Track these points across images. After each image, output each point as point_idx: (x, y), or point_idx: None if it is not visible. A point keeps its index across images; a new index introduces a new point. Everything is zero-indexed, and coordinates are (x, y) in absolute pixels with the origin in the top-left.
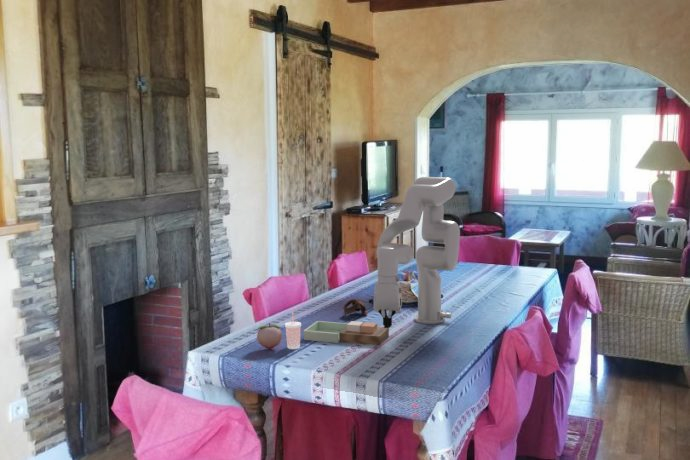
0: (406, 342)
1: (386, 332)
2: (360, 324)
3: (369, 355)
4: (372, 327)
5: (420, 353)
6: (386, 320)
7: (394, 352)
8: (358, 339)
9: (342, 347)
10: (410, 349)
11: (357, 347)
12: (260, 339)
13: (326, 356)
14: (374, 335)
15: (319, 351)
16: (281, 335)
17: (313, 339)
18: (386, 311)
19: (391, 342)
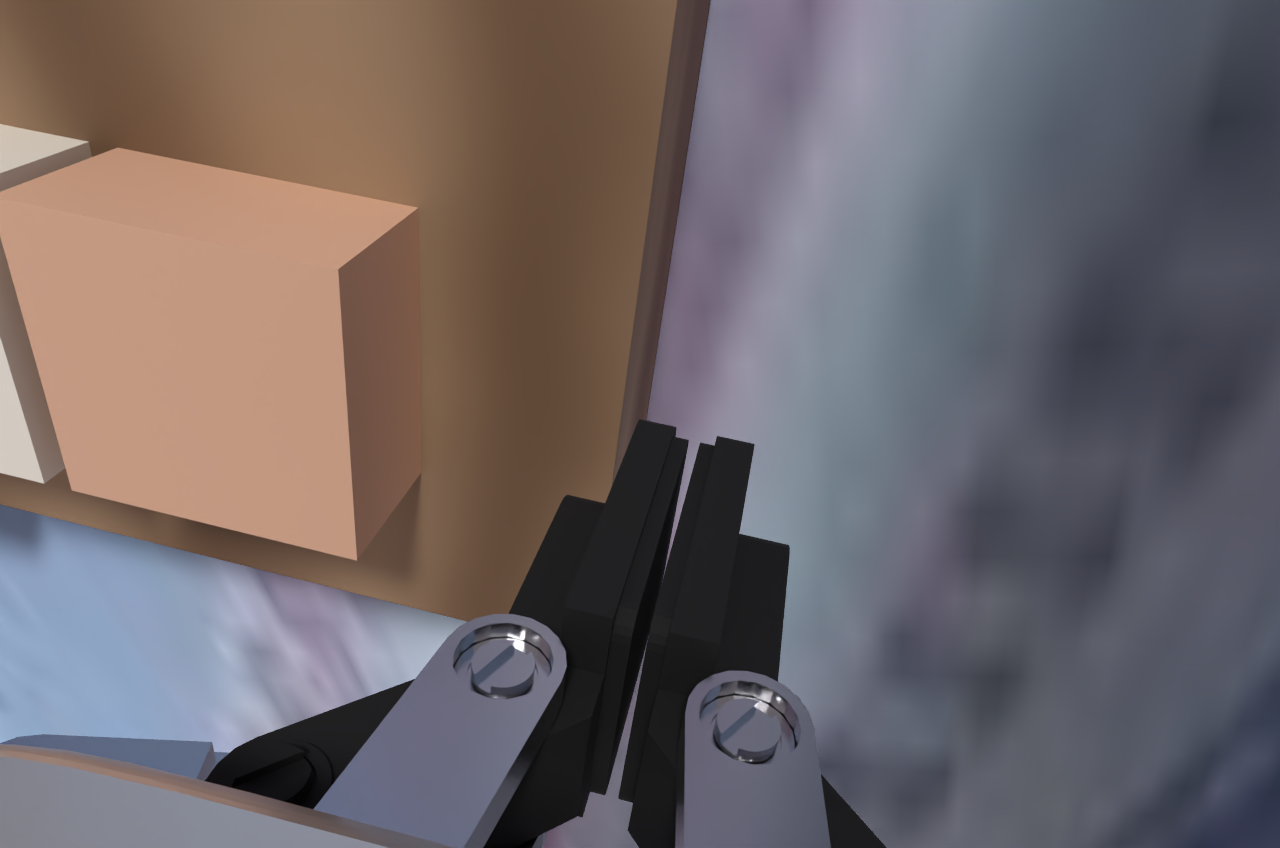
0: (1123, 358)
1: (659, 208)
2: (13, 404)
3: (572, 830)
4: (343, 540)
5: (1275, 832)
6: (623, 720)
7: (873, 776)
8: None
9: (171, 596)
10: (1140, 691)
11: (343, 599)
12: None
13: None
14: (481, 596)
15: (27, 700)
16: None
17: None
18: (504, 786)
19: (807, 374)
